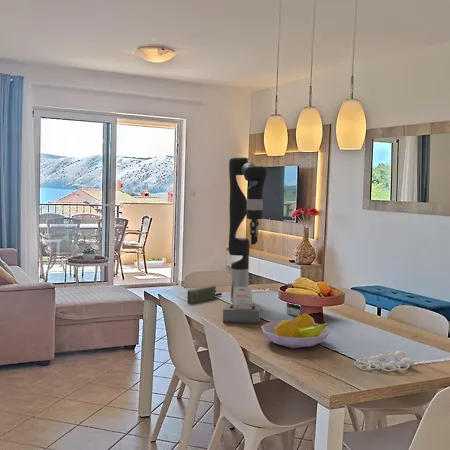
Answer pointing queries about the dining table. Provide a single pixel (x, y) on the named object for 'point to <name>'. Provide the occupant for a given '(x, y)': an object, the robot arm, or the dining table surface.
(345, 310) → the dining table surface
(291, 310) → the tea box
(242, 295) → the ink box
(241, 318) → the desk holder
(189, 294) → the handheld radio
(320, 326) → the fruit bowl
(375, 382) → the dining table surface
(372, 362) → the tangled rod sculpture
